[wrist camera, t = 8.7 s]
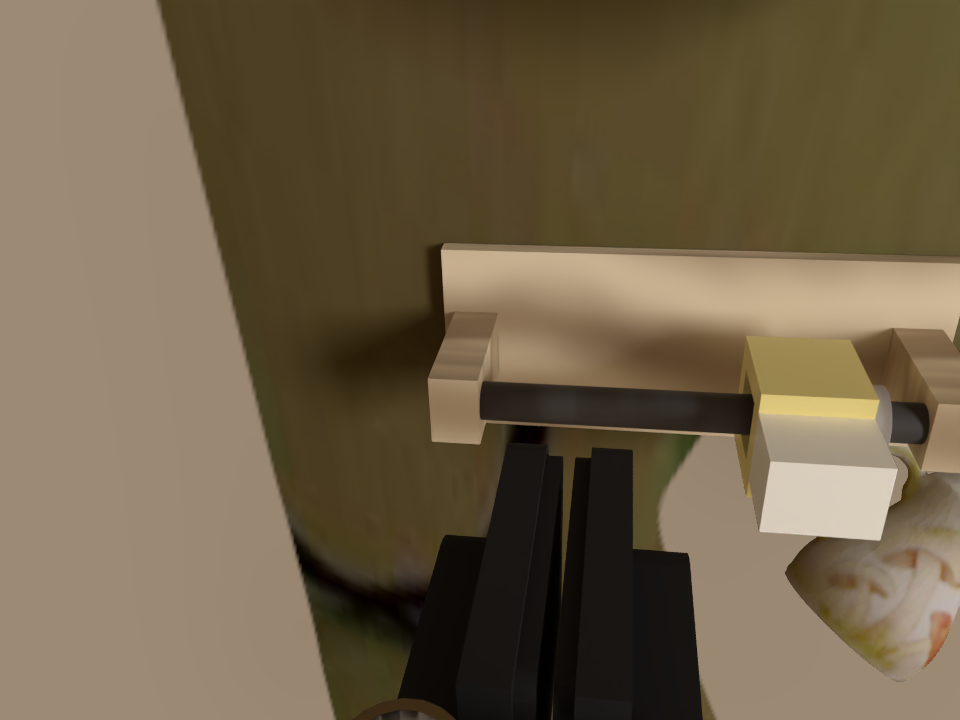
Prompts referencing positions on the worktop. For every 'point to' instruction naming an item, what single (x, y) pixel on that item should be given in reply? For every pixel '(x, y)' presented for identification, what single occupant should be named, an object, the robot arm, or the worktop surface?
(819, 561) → the mug
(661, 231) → the worktop surface
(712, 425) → the roller holder rack
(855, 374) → the sleeve
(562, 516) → the robot arm
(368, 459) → the worktop surface
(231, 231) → the worktop surface
